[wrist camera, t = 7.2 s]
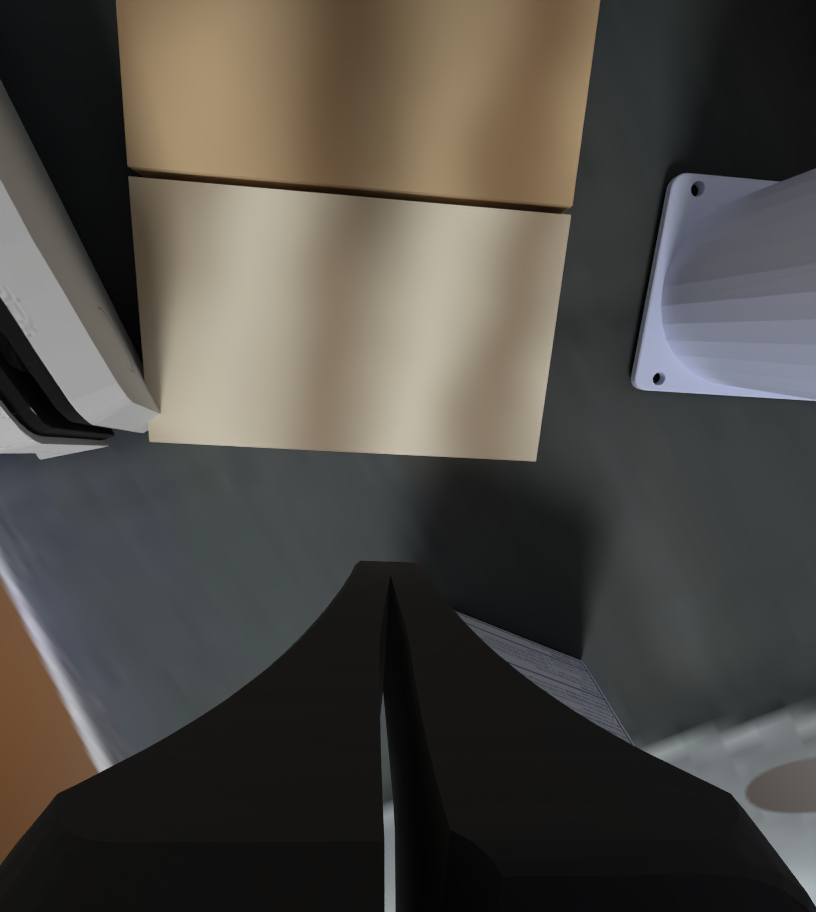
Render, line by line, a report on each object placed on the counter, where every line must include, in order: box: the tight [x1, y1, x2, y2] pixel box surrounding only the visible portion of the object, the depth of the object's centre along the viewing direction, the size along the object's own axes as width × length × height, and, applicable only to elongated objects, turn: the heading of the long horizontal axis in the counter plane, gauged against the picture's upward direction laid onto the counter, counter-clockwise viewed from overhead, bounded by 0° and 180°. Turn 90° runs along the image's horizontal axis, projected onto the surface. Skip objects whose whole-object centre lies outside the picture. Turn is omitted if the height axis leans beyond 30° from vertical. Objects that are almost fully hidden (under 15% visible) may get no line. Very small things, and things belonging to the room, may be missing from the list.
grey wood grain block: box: [455, 611, 636, 747], centre depth 19 cm, size 8×4×9 cm, turn 64°
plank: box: [116, 0, 600, 214], centre depth 15 cm, size 15×8×2 cm, turn 86°
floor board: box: [128, 176, 571, 461], centre depth 18 cm, size 15×9×2 cm, turn 86°
